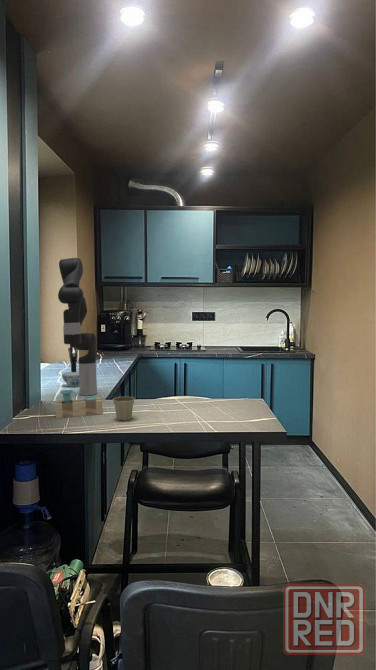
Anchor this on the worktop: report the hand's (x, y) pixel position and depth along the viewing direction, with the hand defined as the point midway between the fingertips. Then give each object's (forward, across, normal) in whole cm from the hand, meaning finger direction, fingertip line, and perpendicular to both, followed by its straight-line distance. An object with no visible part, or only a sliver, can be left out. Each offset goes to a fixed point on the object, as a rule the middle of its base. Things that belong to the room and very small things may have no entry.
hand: (73, 372), depth 199 cm
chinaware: (+19, -72, +5) cm, 74 cm away
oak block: (+19, 0, +2) cm, 19 cm away
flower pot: (+20, +16, +19) cm, 32 cm away
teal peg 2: (+19, 0, +7) cm, 20 cm away
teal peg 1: (+15, 0, -3) cm, 16 cm away
